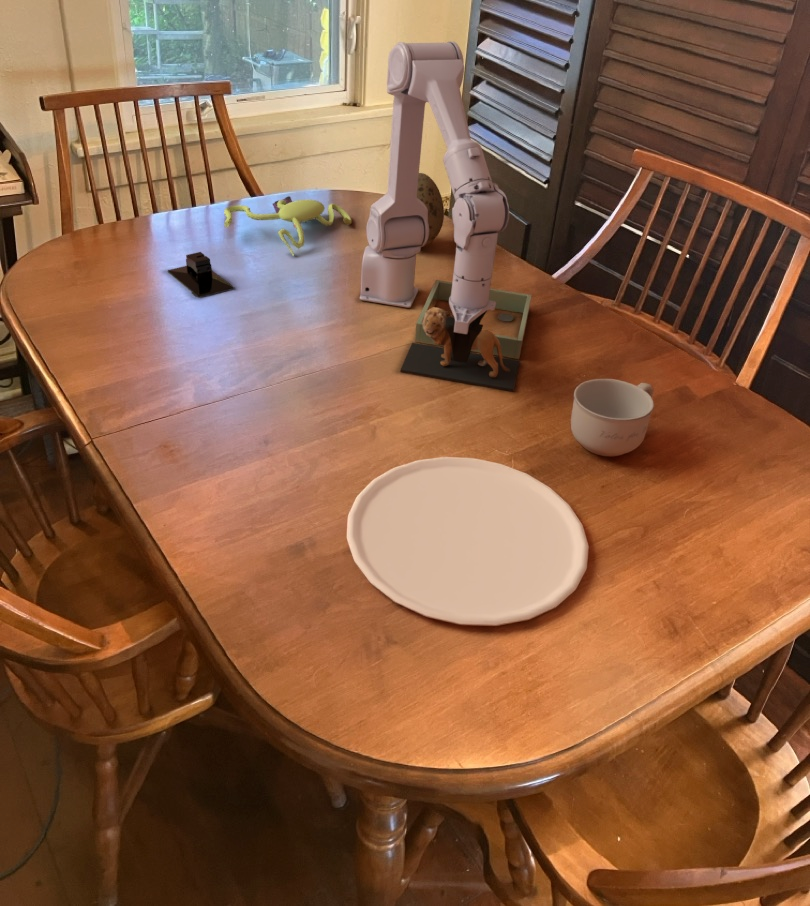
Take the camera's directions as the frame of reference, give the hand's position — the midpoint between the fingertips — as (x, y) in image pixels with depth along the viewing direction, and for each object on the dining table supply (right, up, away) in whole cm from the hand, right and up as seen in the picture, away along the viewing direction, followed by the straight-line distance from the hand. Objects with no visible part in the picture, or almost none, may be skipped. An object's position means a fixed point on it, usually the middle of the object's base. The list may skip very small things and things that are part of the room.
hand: (462, 352), depth 127 cm
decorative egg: (-7, +27, +39) cm, 48 cm away
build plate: (-47, +16, +20) cm, 53 cm away
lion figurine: (0, -2, +1) cm, 2 cm away
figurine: (-34, +30, +41) cm, 61 cm away
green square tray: (+3, +6, +13) cm, 15 cm away
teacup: (+20, -14, -12) cm, 27 cm away
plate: (-2, -26, -30) cm, 40 cm away
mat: (0, -2, +2) cm, 3 cm away
